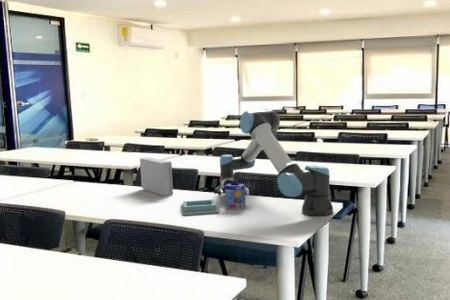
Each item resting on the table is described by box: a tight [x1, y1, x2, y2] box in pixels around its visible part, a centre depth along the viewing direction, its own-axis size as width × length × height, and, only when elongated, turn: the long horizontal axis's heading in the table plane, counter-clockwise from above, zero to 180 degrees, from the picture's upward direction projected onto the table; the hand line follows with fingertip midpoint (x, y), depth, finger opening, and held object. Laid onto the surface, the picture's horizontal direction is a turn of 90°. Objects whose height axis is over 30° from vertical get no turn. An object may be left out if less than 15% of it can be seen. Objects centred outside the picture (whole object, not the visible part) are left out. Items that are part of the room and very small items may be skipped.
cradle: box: [180, 199, 220, 217], centre depth 257 cm, size 20×18×4 cm
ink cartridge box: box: [224, 180, 246, 210], centre depth 259 cm, size 10×6×14 cm, turn 76°
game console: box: [139, 156, 174, 197], centre depth 301 cm, size 6×27×20 cm, turn 39°
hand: (235, 193), depth 257 cm, fingers open, 13 cm apart
